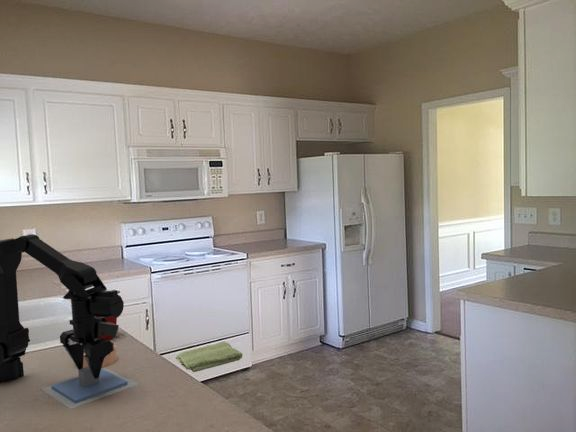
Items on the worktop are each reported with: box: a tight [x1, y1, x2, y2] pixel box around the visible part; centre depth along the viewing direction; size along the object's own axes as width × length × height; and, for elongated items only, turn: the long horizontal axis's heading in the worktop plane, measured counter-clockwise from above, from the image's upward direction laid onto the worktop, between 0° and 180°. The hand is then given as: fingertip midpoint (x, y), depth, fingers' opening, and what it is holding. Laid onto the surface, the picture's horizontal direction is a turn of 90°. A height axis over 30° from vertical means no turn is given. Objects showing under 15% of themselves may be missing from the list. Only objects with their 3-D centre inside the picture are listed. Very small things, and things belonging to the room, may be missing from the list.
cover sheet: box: [50, 367, 128, 403], centre depth 134 cm, size 14×14×5 cm
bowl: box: [83, 343, 118, 368], centre depth 152 cm, size 11×11×5 cm
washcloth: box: [175, 341, 244, 373], centre depth 153 cm, size 13×18×3 cm
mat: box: [40, 367, 139, 410], centre depth 134 cm, size 18×18×1 cm
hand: (88, 373), depth 134 cm, fingers open, 9 cm apart
